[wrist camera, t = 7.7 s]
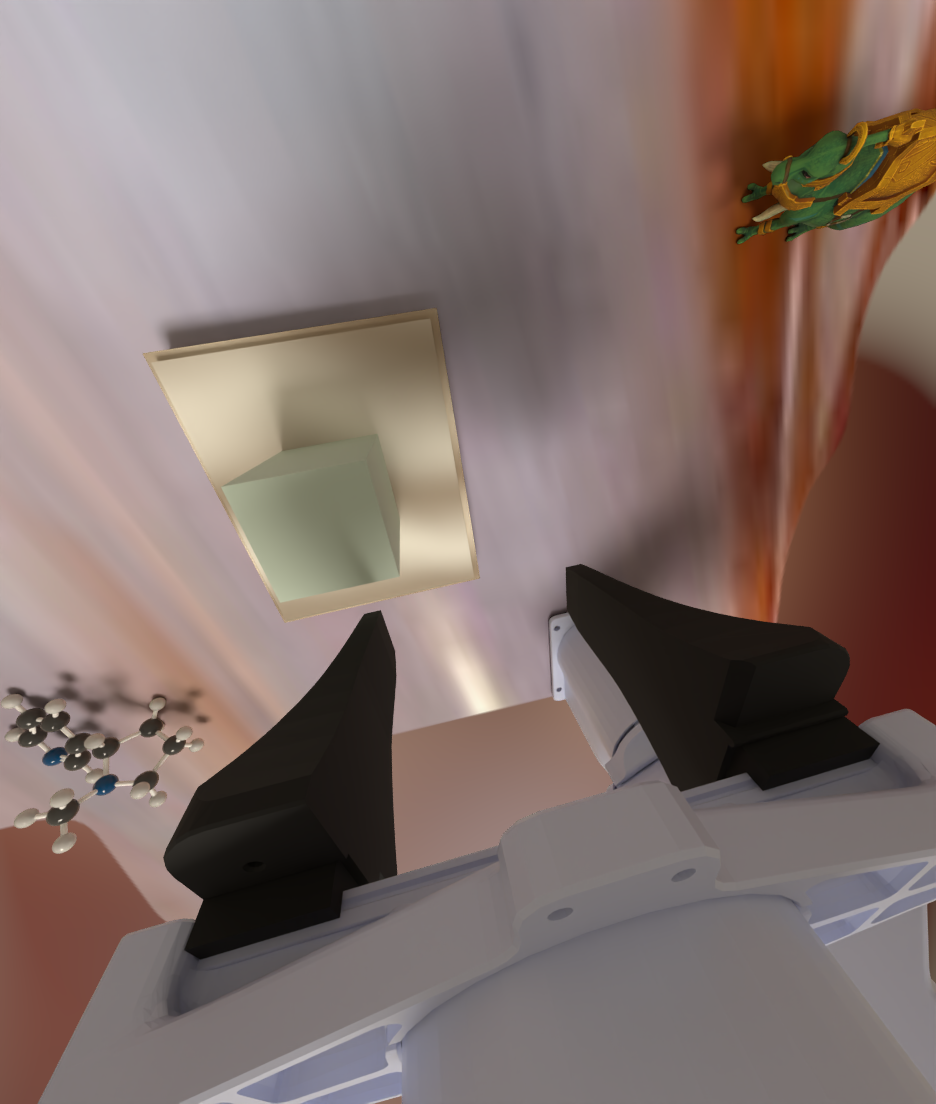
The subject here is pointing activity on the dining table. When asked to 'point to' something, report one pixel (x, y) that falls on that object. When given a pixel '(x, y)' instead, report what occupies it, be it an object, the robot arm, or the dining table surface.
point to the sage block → (320, 517)
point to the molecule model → (87, 760)
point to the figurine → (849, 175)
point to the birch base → (336, 430)
